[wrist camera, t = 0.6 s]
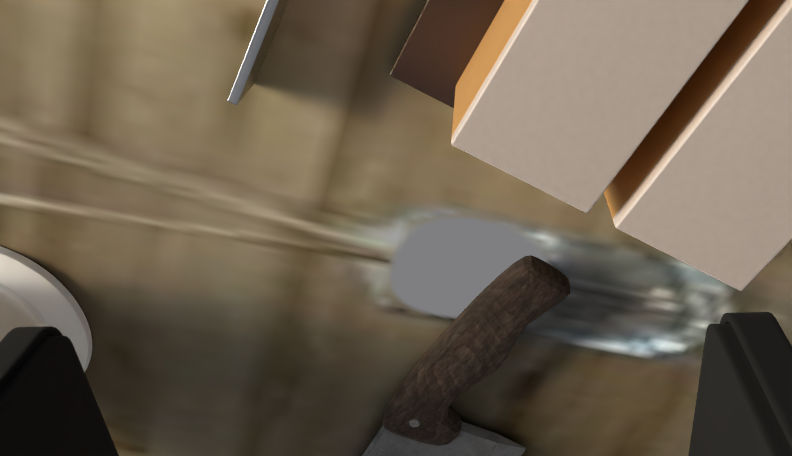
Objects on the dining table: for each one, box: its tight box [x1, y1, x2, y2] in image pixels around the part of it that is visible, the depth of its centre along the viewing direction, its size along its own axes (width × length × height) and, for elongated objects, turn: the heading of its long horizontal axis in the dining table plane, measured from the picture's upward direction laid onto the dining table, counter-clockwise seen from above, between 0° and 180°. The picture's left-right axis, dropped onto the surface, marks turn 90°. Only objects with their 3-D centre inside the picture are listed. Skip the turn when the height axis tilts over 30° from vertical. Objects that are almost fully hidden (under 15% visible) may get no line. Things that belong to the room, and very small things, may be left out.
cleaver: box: [362, 256, 570, 456], centre depth 46 cm, size 29×10×2 cm, turn 157°
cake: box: [451, 0, 792, 291], centre depth 29 cm, size 14×14×7 cm
